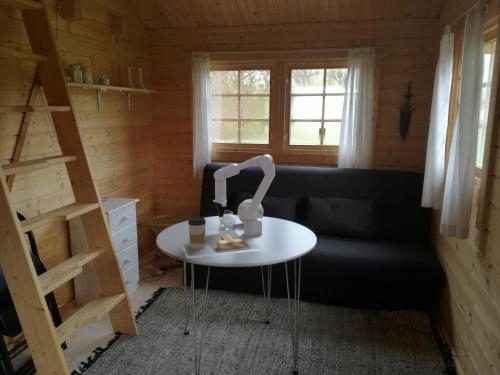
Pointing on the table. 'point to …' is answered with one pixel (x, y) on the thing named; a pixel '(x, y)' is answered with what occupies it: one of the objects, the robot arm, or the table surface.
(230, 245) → the t block
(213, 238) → the slate board
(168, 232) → the table surface
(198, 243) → the coffee cup
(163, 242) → the table surface
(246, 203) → the puzzle ball
